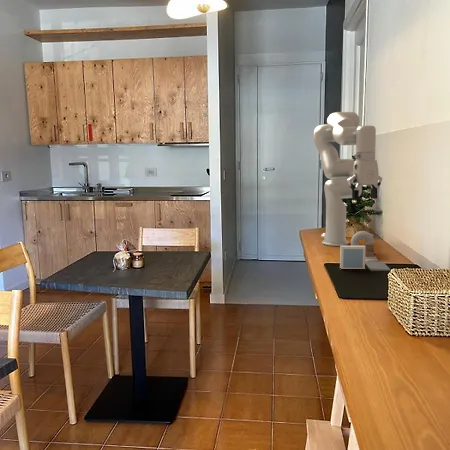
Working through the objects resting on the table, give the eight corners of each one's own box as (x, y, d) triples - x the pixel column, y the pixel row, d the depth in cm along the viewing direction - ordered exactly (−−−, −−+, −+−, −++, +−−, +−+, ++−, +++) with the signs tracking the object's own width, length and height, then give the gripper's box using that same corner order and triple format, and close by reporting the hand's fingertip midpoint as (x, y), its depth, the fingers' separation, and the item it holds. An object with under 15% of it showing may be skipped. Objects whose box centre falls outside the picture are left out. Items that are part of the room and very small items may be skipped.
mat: (364, 263, 182) (364, 261, 182) (382, 263, 181) (382, 261, 181) (371, 270, 170) (371, 269, 170) (390, 271, 169) (390, 269, 169)
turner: (362, 256, 193) (362, 242, 192) (372, 256, 193) (373, 242, 192) (366, 262, 183) (367, 247, 182) (378, 262, 183) (378, 247, 182)
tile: (339, 268, 175) (340, 245, 174) (363, 268, 174) (364, 245, 173) (340, 269, 173) (341, 246, 171) (364, 269, 172) (365, 246, 170)
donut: (350, 253, 198) (351, 231, 197) (350, 252, 202) (350, 230, 200) (374, 254, 197) (375, 231, 195) (373, 252, 200) (374, 230, 198)
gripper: (354, 157, 176) (354, 200, 178) (388, 156, 183) (387, 198, 185) (342, 157, 183) (341, 199, 185) (375, 156, 190) (374, 197, 192)
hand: (364, 199), depth 185 cm, fingers open, 9 cm apart
